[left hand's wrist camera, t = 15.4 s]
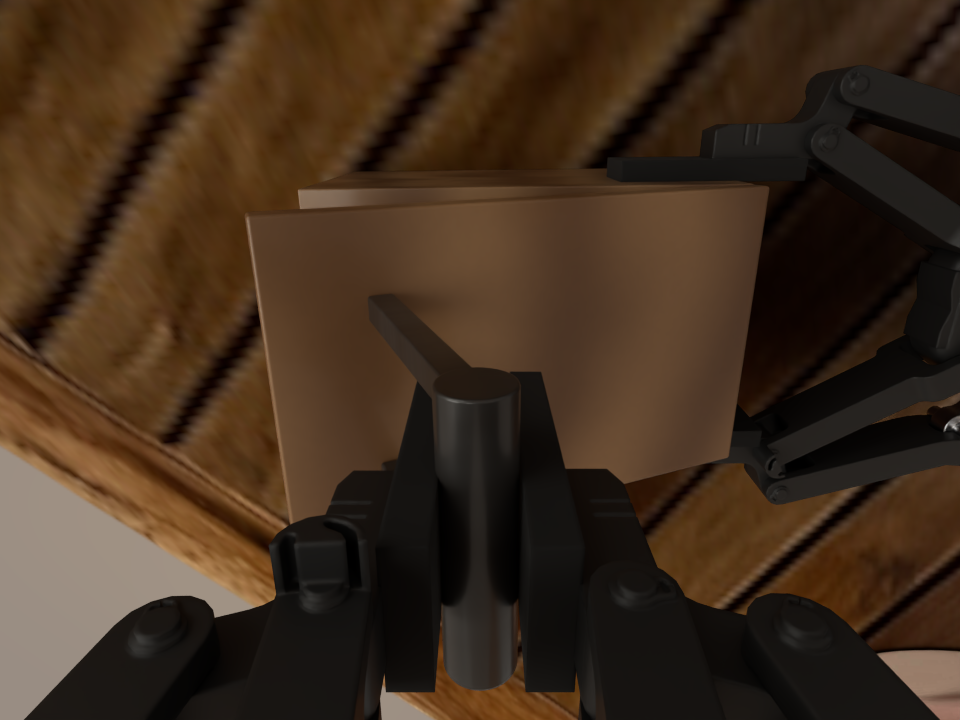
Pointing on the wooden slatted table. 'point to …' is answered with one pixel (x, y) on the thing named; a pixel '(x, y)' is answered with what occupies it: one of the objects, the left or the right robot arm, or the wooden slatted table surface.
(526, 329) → the lid
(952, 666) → the anatomical model
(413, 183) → the chest
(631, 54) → the wooden slatted table surface
